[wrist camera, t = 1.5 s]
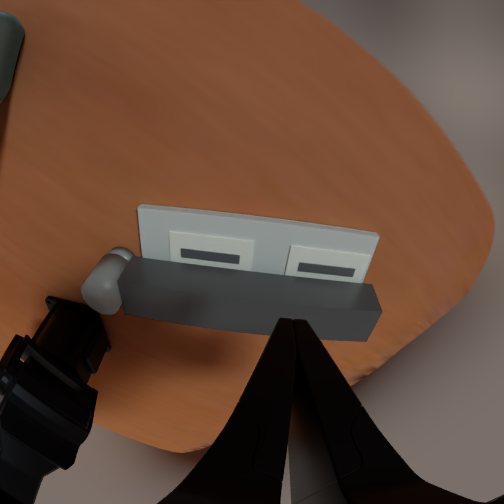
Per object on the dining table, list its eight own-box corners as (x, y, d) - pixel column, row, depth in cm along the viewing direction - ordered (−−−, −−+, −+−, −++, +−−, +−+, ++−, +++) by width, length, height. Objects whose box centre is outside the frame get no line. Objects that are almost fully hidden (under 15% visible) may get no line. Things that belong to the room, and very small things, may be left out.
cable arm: (104, 282, 22) (86, 310, 19) (96, 251, 20) (76, 277, 17) (359, 314, 22) (367, 346, 19) (372, 284, 20) (383, 316, 17)
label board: (119, 304, 25) (115, 311, 24) (99, 200, 19) (93, 206, 18) (337, 332, 25) (339, 340, 24) (376, 232, 19) (380, 239, 18)
